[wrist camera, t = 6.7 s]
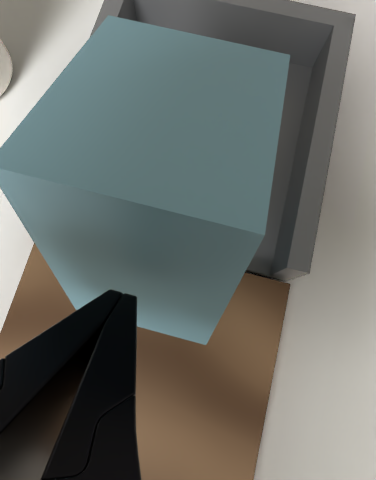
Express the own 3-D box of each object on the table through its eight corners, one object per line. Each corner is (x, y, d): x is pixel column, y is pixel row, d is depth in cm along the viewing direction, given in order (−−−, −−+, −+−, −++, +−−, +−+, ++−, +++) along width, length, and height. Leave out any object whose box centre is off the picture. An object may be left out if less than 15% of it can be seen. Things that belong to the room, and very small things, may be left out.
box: (285, 281, 18) (309, 273, 14) (55, 221, 18) (25, 201, 15) (328, 63, 21) (355, 14, 17) (129, 20, 21) (118, -36, 18)
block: (206, 345, 14) (265, 235, 7) (75, 309, 14) (-14, 165, 7) (232, 219, 18) (290, 54, 10) (128, 193, 18) (108, 15, 11)
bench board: (236, 516, 15) (242, 537, 14) (-23, 437, 16) (-44, 450, 14) (281, 286, 18) (290, 284, 16) (54, 227, 18) (42, 220, 17)
